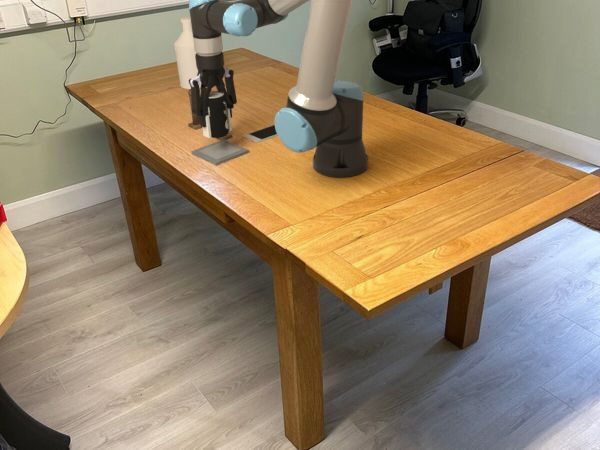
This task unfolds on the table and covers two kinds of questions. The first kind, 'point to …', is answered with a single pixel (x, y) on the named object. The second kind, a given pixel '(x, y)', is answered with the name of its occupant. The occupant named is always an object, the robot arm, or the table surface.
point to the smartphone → (262, 134)
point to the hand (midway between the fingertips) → (217, 132)
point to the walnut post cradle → (196, 121)
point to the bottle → (186, 54)
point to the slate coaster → (220, 152)
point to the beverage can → (217, 114)
